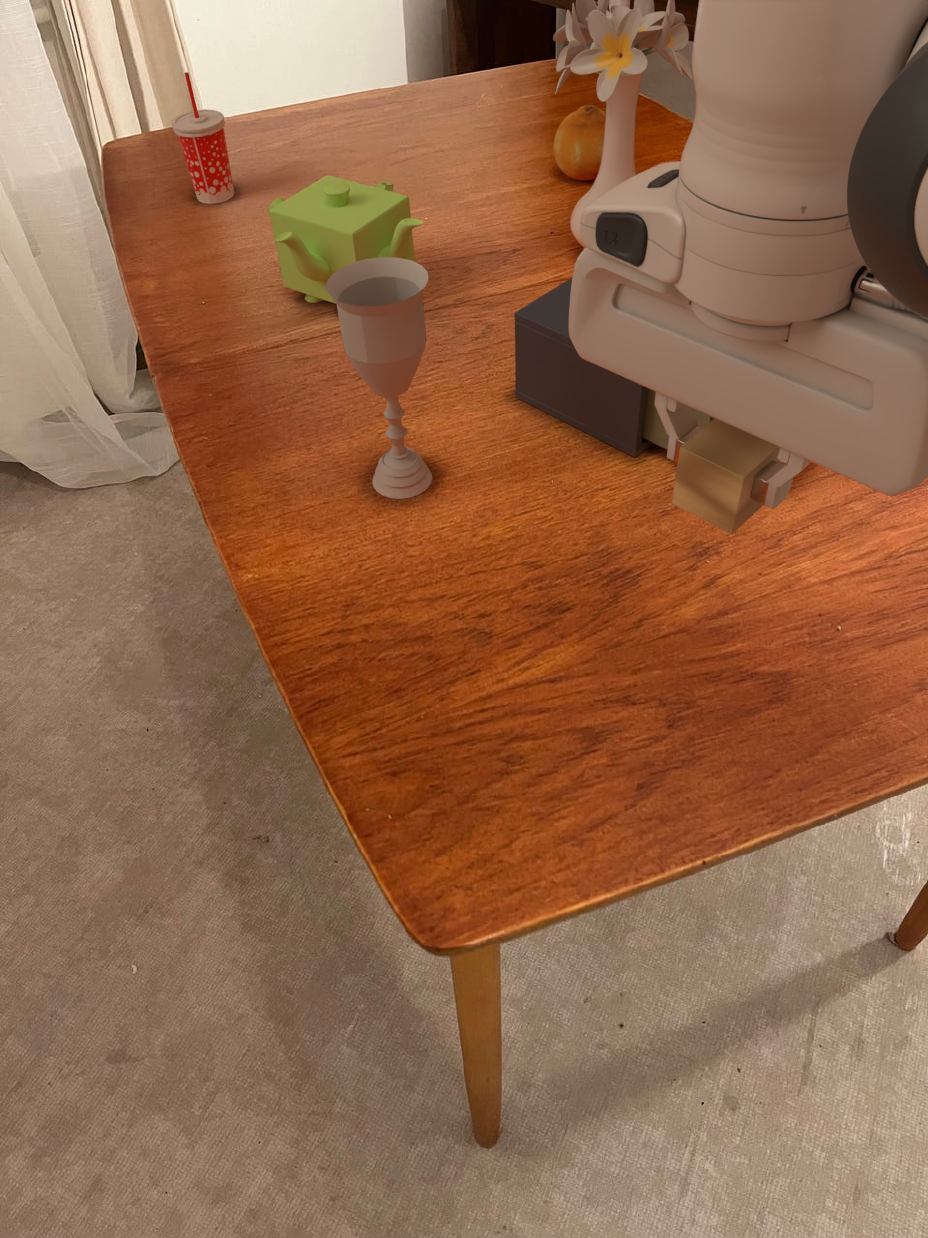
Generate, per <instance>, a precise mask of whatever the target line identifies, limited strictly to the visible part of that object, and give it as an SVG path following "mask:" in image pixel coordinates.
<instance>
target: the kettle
mask: <svg viewBox="0 0 928 1238" xmlns="http://www.w3.org/2000/svg"><path fill="white" fill-rule="evenodd" d="M394 184H395V183H392V182H387V181H381V182H377V183H376V187H375V186H372V185H368V184H364V183H360V182H356V181H353V180H348V179H346V178H345V179H344V178H342V177H337V176H332V175H329V174H326V175H324V176H323V177H321V178H320V179H318V180H316V181H314V183H311V184H310V185H308V186H306V187H305V188H303V189H301V190H300V191H298V192H296V193H295V194H292V196H290V197H288V198H287V199H284V198H283V196H278V197H276V198H275V199H274V200H273V201H271V203H270V204H269V206H268V207H267V210H266V211H267V212H268V214H269V219H270V224H271V225H270V226H271V230H272V234H273V238H272V241H273V242H274V245H275V249H276V253H277V259H278V263H279V269H280V273H281V278H282V283H283V287H284V288H287V289H291V290H294V291H296V292H300V293H302V294H305V296H304V300H305V301H306V302H308V303H311V304H312V303H313V304H316V303H320V302H323V301H327V302H329V303H333V304H336V302H335V301H334V300H333V298H332V297H331V296H330V294H329V293H328V292H327V281H328V280H329V278H330V277H331V275H332V274H334V273H335V272H336V271H338V270H339V269H340V268H342V267H345V266H347V265H349V264H351V263H354V262H358V261H362V260H365V259H371V258H380V257H392V258H402V259H407V260H411V261H413V262H416V259H415V257H416V256H415V245H414V237H413V229H414V228H417V227H420V226H421V225H424V224H425V222H424V221H423V220H421V219H418V218H413V217H412V215H411V205H410V204H411V203H410V197H409V196H408V195H405V194H402V193H399V192H394V186H395V185H394ZM336 305H337V304H336Z"/></svg>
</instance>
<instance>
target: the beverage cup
mask: <svg viewBox="0 0 928 1238" xmlns="http://www.w3.org/2000/svg"><path fill="white" fill-rule="evenodd" d="M183 74H184V77H185V82H186V86H187V90H188V94H189V99H190V102H191V106H192V110H189V111H186V112H184V113H181V114H178V115H176V116H175V117H174V118H173V119H171V127H172V128H173V130H172V131H173V133H175V135H176V136H177V140H178V142H179V146H180V149H181V153H182V156H183V158H184V161H185V165H186V168H187V172H188V174H189V177H190V180H191V184H192V187H193V190H194V193H195V197H196V199H197V201H198V202H200V203H203V204H205V205H207V204H208V205H213V204H220V203H224V202H227V201H228V200H231V199H232V198H234V196H235V187H234V183H233V175H232V169H231V163H230V157H229V151H228V146H227V139H226V134H225V133H226V132H225V128H224V127H225V124H226V121H225V116H224V114H223V113H222V112H221V111H218V110H215V109H205V108H203V109H198V106H197V103H196V98H195V95H194V90H193V86H192V81H191V77H190V73H189V72H188V71H186V72H184V73H183ZM232 185H233V187H232ZM231 187H232V188H231ZM229 189H230V190H229ZM228 190H229V191H228ZM226 191H228V192H226ZM225 192H226V193H225ZM222 193H223V194H222ZM199 194H200V195H199ZM218 194H220V195H218ZM213 195H214V196H213Z"/></svg>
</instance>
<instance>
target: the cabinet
mask: <svg viewBox="0 0 928 1238" xmlns="http://www.w3.org/2000/svg"><path fill="white" fill-rule="evenodd" d="M572 278H573V276H572V277H570V278H569V279H567V280H565V281H564V282H563V283H561V284H559V285H557V286H556V287H553V288H552V289H551V290H549V291H548V292H546V293H545V294H543V295H541V296H539V297H538V298H536V299H535V300H533V301H531V302H530V303H528V304H526V305H525V306H523V307H522V308H520V309H518V310H517V311H515V312H514V364H515V365H514V368H515V369H514V370H515V371H514V374H515V375H514V377H515V379H514V380H515V398H516V399H518V400H520V401H522V402H524V403H526V404H528V405H530V406H531V407H534V408H536V409H538V410H540V411H541V412H544V413H546V414H548V415H549V416H552V417H554V418H555V419H558V420H559V421H561V422H564V423H565V424H567V425H569V426H571V427H573V428H575V429H577V430H579V431H581V432H583V433H585V434H587V435H589V436H591V437H592V438H595V439H597V440H599V441H601V442H603V443H605V444H607V445H609V446H611V447H613V448H615V449H617V450H619V451H621V452H623V453H624V454H626V455H629V456H630V457H633V458H637V457H638V456H639V455H641V454H642V453H643V452H644V451H646V450H647V449H648V448H650V447H651V446H653V444H654V443H652V442H650V441H648V440H646V439H644V438H642V432H643V422H644V413H645V403H646V393H647V387H645V386H642V385H640V384H638V383H636V382H633V381H631V380H629V379H627V378H625V377H622V376H620V375H618V374H616V373H613V372H611V371H609V370H607V369H604V368H602V367H600V366H598V365H596V364H593V363H591V362H589V361H586V360H584V359H582V358H581V357H580V356H579V354H578V353H577V351H576V349H575V347H574V345H573V343H572V341H571V339H570V336H569V306H570V294H571V285H572Z"/></svg>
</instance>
